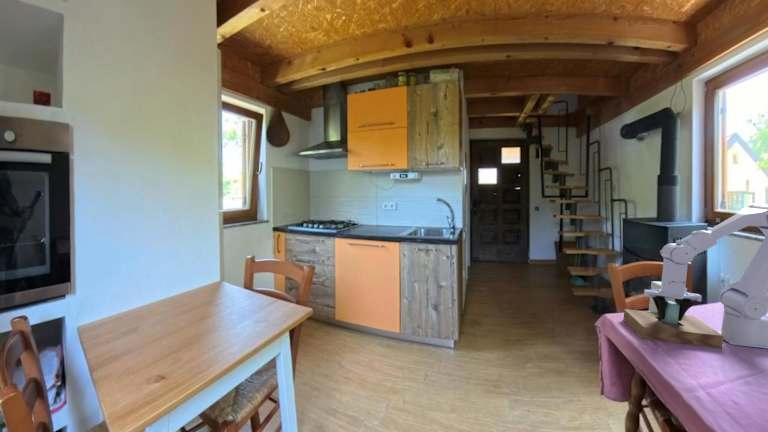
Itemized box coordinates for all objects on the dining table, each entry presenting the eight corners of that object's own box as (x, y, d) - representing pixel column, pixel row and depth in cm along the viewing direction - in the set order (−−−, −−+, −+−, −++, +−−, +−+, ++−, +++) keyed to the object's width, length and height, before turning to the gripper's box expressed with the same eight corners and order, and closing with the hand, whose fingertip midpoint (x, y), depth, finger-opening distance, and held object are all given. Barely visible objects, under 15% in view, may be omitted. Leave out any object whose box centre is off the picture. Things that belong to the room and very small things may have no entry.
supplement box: (684, 321, 108) (688, 288, 107) (661, 320, 110) (664, 287, 108) (669, 313, 116) (673, 281, 114) (647, 311, 117) (650, 280, 115)
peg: (672, 323, 102) (674, 301, 101) (680, 329, 98) (683, 306, 97) (658, 322, 103) (660, 300, 102) (665, 328, 100) (668, 305, 98)
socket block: (691, 326, 105) (692, 315, 104) (721, 348, 92) (723, 335, 91) (623, 319, 111) (624, 309, 110) (642, 338, 98) (644, 327, 97)
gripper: (653, 281, 97) (649, 321, 99) (710, 286, 93) (705, 327, 95) (642, 275, 104) (638, 312, 106) (695, 278, 100) (690, 317, 101)
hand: (669, 318), depth 101 cm, fingers closed on peg, 4 cm apart
